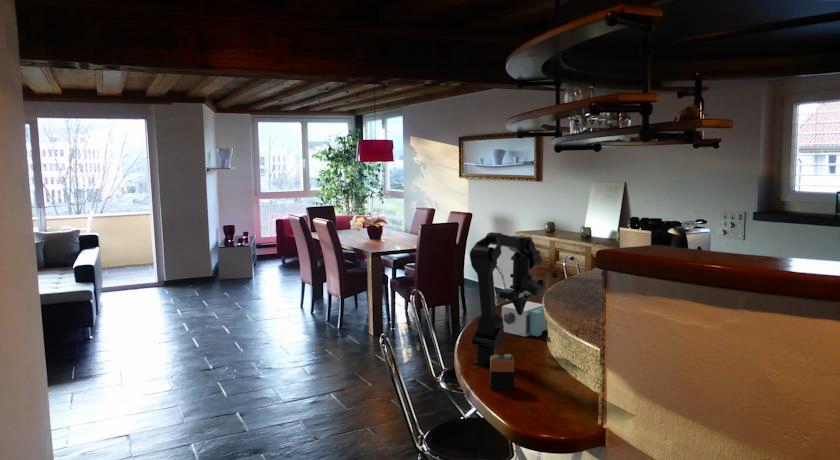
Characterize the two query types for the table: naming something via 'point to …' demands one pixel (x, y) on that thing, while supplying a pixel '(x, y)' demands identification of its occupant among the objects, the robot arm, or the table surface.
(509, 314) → the camera body
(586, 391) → the table surface
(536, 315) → the side door
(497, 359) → the battery
